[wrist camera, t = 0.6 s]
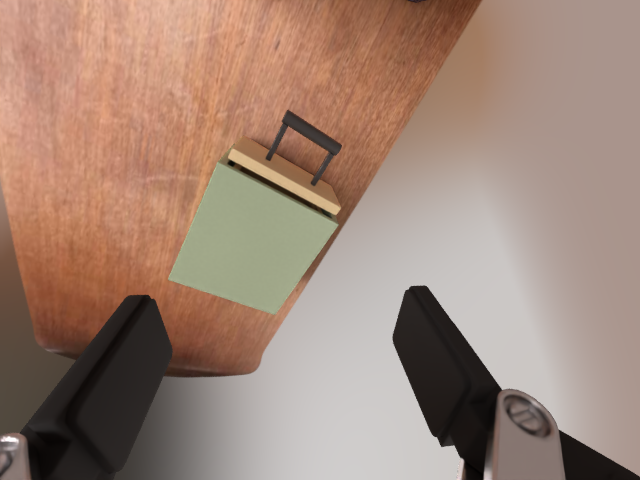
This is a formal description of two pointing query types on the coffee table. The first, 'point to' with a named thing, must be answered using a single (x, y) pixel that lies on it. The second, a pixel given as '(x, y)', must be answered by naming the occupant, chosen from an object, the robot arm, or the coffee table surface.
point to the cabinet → (250, 241)
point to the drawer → (289, 166)
